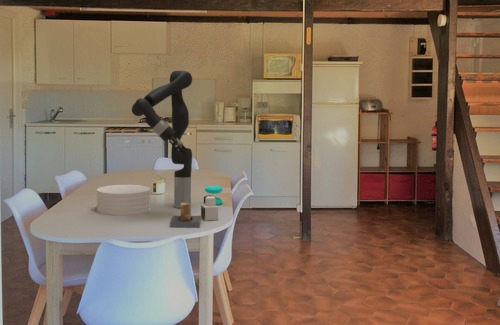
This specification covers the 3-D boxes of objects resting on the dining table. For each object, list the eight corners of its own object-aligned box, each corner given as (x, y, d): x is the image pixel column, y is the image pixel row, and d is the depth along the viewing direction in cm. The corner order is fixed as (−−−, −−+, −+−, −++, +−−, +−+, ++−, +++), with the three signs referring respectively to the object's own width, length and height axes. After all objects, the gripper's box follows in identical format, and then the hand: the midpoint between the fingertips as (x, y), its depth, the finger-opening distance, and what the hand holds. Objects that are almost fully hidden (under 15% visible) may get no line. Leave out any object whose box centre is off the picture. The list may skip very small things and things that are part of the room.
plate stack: (155, 205, 316) (155, 185, 315) (141, 216, 288) (141, 194, 287) (108, 203, 319) (107, 183, 317) (89, 214, 291) (88, 192, 290)
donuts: (225, 187, 320) (208, 188, 316) (224, 204, 321) (208, 206, 317) (218, 185, 329) (202, 185, 325) (218, 201, 330) (202, 202, 326)
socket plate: (169, 227, 266) (169, 222, 266) (172, 220, 280) (172, 215, 280) (199, 227, 267) (199, 222, 266) (200, 220, 281) (200, 215, 280)
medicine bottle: (200, 218, 287) (201, 195, 285) (214, 217, 289) (214, 194, 288) (204, 221, 280) (204, 197, 278) (218, 220, 282) (218, 196, 281)
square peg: (180, 224, 271) (180, 204, 270) (181, 222, 276) (181, 202, 274) (189, 225, 271) (190, 204, 270) (190, 222, 276) (190, 203, 274)
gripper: (167, 126, 278) (190, 149, 280) (170, 124, 292) (192, 146, 294) (156, 136, 279) (179, 159, 281) (160, 134, 293) (182, 155, 295)
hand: (186, 152), depth 288 cm, fingers open, 8 cm apart
